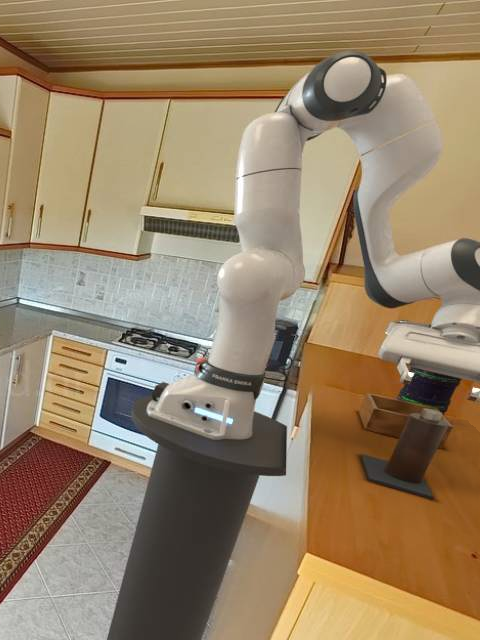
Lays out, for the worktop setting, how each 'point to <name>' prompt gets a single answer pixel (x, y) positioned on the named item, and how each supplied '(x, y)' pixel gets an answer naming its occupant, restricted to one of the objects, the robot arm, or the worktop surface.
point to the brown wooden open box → (392, 415)
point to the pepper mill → (417, 446)
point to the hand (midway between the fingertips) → (438, 390)
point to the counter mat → (379, 475)
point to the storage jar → (429, 389)
